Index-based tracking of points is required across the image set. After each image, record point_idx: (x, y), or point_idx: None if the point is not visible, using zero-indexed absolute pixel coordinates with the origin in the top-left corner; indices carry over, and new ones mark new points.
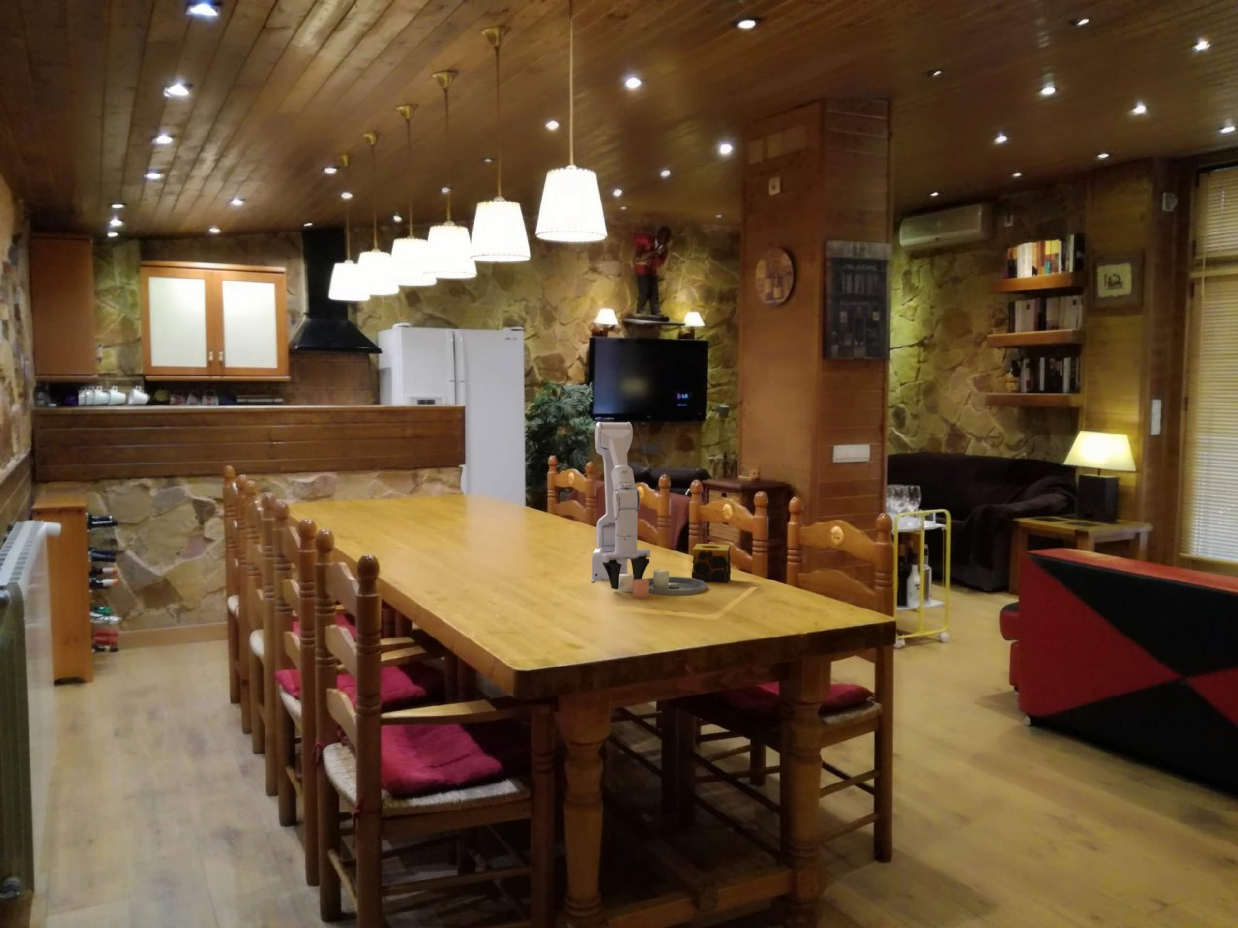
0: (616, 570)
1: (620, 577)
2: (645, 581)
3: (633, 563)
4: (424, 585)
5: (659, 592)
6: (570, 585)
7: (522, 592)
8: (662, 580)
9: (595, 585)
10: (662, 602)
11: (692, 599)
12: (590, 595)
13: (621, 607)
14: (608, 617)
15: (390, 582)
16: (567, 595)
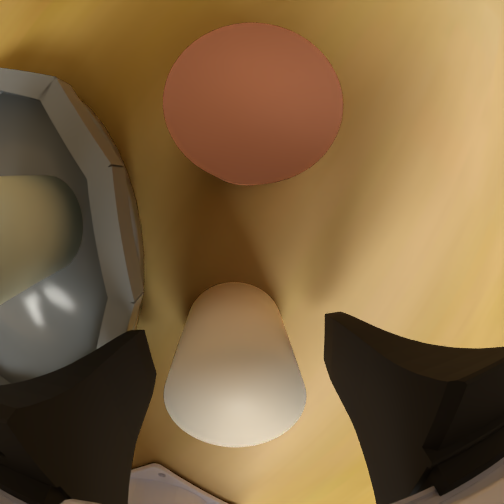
0: (446, 352)
1: (303, 384)
2: (234, 42)
3: (115, 492)
4: None
5: (95, 130)
6: (331, 496)
7: None
8: (11, 177)
9: (259, 487)
10: (169, 31)
11: (21, 56)
12: None
13: (424, 67)
14: (491, 19)
15: None
16: None
